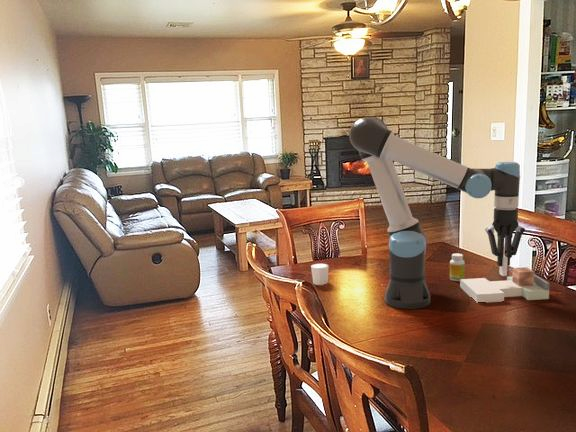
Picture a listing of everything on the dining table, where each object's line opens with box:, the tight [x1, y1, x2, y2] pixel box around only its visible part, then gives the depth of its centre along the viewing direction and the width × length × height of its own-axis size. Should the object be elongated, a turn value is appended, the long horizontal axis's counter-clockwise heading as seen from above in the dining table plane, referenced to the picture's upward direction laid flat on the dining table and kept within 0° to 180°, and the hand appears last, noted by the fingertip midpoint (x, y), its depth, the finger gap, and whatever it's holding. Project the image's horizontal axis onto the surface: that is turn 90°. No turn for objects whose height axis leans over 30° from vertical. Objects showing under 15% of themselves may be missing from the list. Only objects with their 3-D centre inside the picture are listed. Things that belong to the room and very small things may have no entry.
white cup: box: [310, 263, 329, 286], centre depth 195 cm, size 7×7×7 cm
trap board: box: [459, 273, 550, 304], centre depth 174 cm, size 24×16×6 cm, turn 91°
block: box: [512, 267, 535, 286], centre depth 173 cm, size 5×5×5 cm
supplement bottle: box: [449, 252, 466, 282], centre depth 190 cm, size 5×5×10 cm
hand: (503, 274), depth 173 cm, fingers closed
